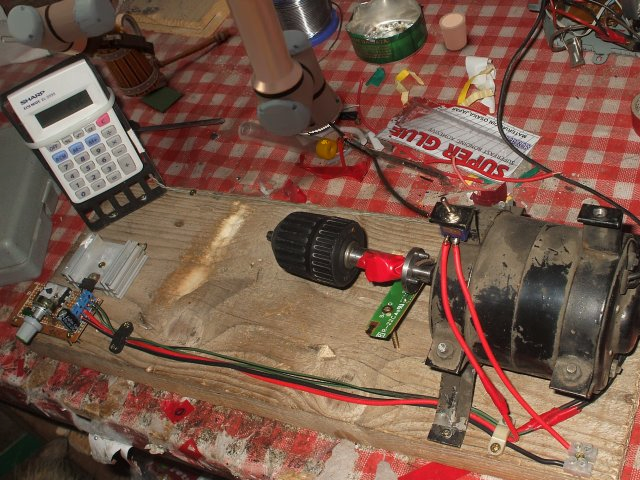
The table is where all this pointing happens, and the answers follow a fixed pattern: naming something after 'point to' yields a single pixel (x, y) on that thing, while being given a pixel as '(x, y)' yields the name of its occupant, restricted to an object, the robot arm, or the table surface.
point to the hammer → (185, 55)
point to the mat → (161, 98)
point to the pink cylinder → (454, 30)
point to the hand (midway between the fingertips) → (136, 51)
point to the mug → (130, 63)
